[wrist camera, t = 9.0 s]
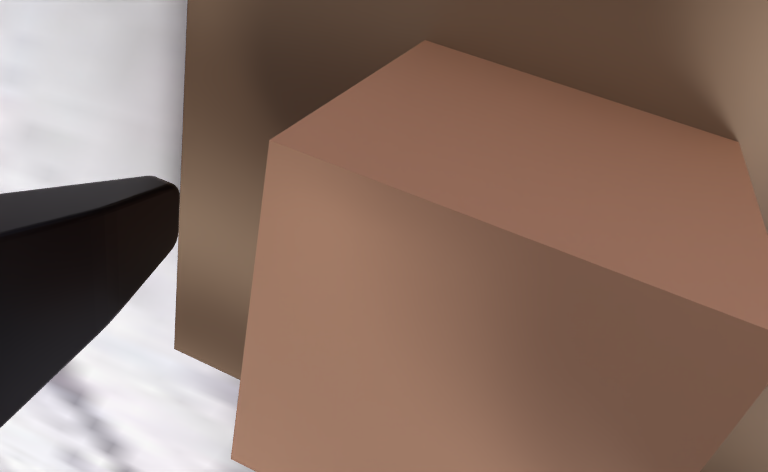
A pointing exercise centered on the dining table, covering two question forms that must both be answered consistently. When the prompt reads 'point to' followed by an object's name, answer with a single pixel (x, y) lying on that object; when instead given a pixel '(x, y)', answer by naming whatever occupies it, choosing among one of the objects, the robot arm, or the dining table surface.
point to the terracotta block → (499, 282)
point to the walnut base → (462, 33)
